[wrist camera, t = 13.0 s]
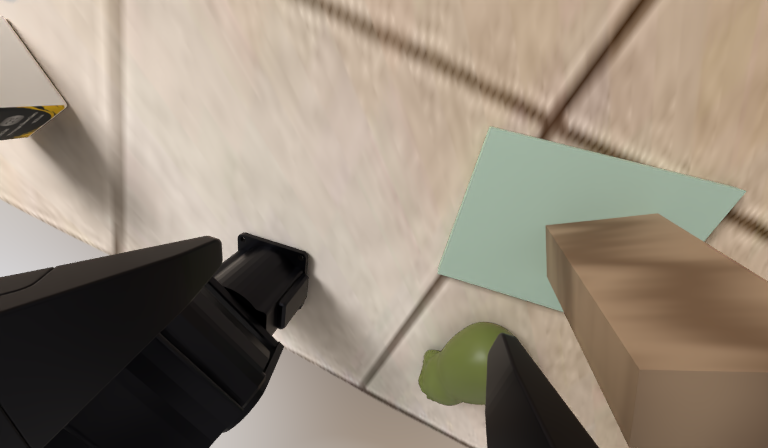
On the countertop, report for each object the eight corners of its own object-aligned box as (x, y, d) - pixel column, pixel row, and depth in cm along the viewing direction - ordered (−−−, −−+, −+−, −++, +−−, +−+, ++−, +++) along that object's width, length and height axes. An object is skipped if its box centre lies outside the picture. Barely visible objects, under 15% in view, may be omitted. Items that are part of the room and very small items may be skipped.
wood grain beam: (546, 276, 20) (629, 447, 11) (545, 225, 19) (639, 369, 9) (650, 270, 19) (861, 467, 9) (657, 213, 17) (920, 375, 7)
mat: (438, 267, 23) (437, 273, 22) (489, 126, 18) (491, 127, 17) (621, 323, 22) (627, 331, 21) (733, 186, 17) (746, 191, 16)
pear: (548, 406, 19) (448, 431, 25) (539, 338, 23) (455, 374, 29) (484, 358, 19) (397, 396, 25) (486, 298, 23) (411, 343, 29)
